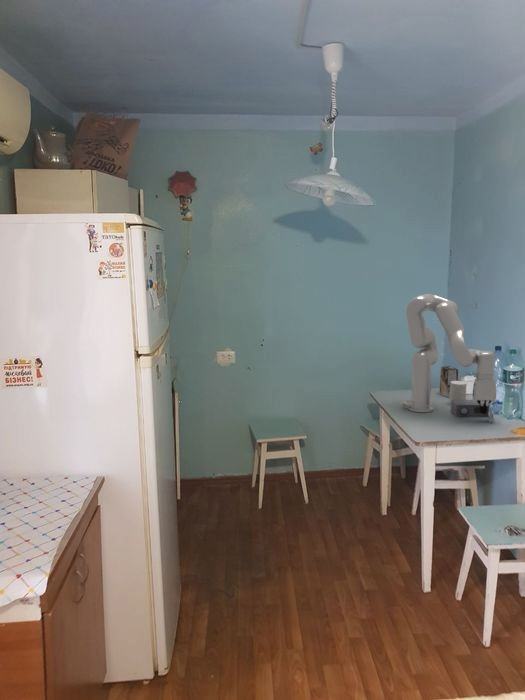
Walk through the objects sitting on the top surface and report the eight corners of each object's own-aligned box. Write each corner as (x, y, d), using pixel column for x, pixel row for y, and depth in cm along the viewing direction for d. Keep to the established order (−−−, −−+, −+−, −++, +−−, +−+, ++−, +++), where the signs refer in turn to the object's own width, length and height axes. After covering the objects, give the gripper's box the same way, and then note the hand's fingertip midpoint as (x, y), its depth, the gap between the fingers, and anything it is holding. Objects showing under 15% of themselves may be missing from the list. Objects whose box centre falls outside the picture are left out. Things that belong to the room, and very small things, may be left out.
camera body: (456, 417, 263) (457, 404, 261) (450, 410, 273) (451, 398, 272) (489, 417, 262) (490, 404, 260) (482, 411, 272) (483, 398, 271)
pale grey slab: (492, 422, 253) (493, 410, 252) (489, 422, 254) (490, 410, 252) (492, 416, 262) (493, 404, 261) (489, 416, 263) (490, 404, 262)
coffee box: (457, 396, 299) (458, 369, 296) (446, 397, 297) (448, 370, 294) (448, 392, 307) (450, 365, 304) (438, 393, 306) (440, 366, 303)
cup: (450, 405, 282) (451, 384, 280) (448, 401, 290) (449, 380, 287) (466, 406, 280) (467, 384, 278) (464, 402, 288) (465, 381, 285)
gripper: (471, 378, 250) (470, 415, 254) (503, 378, 249) (501, 415, 253) (466, 375, 258) (465, 411, 261) (497, 374, 257) (496, 410, 260)
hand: (483, 413), depth 257 cm, fingers closed
